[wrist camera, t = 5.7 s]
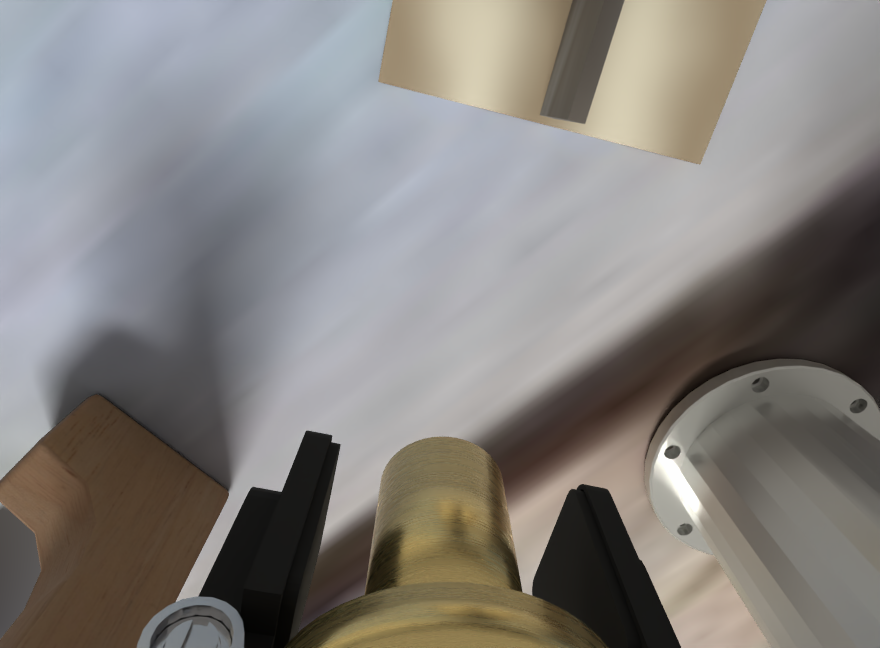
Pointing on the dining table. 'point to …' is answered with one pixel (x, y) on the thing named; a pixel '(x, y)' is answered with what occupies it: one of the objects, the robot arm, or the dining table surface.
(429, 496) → the round gold knob
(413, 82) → the hinge base
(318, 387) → the dining table surface
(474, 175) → the dining table surface
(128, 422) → the wooden block
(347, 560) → the dining table surface
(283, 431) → the dining table surface
